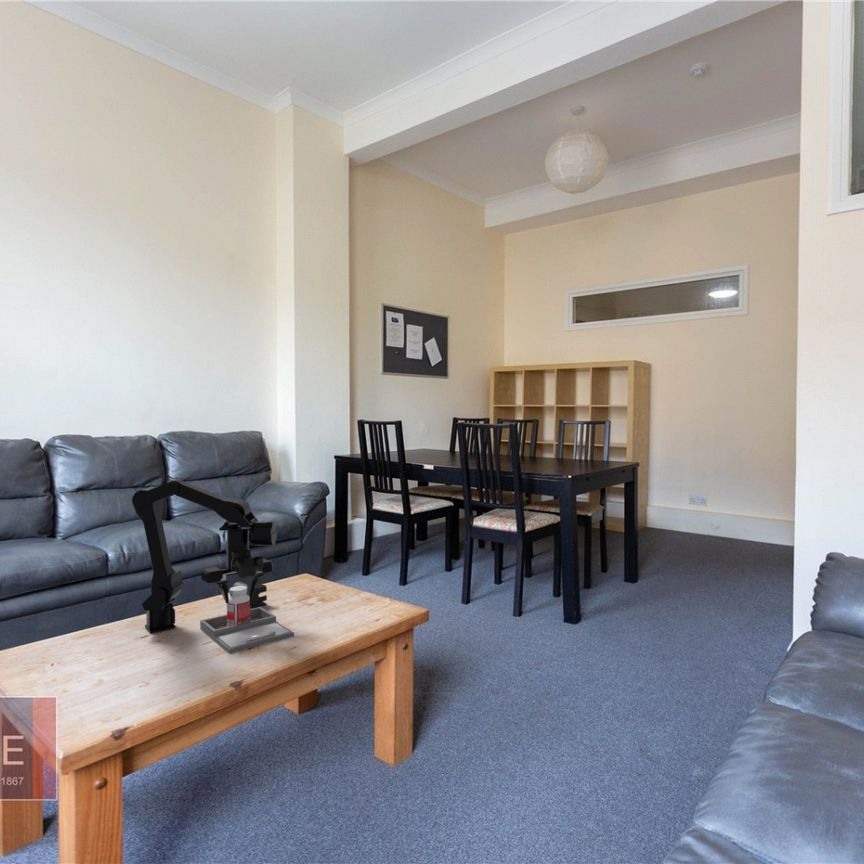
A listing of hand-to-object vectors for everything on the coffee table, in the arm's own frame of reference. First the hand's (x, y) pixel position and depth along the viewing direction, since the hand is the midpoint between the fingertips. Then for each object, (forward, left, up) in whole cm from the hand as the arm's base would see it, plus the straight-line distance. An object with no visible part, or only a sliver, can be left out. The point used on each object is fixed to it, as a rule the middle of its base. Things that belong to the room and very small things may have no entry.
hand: (238, 600), depth 159 cm
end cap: (+10, +17, -8) cm, 21 cm away
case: (0, 0, -8) cm, 8 cm away
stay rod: (0, -15, -6) cm, 16 cm away
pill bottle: (0, 0, -8) cm, 8 cm away
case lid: (0, -11, -8) cm, 13 cm away
